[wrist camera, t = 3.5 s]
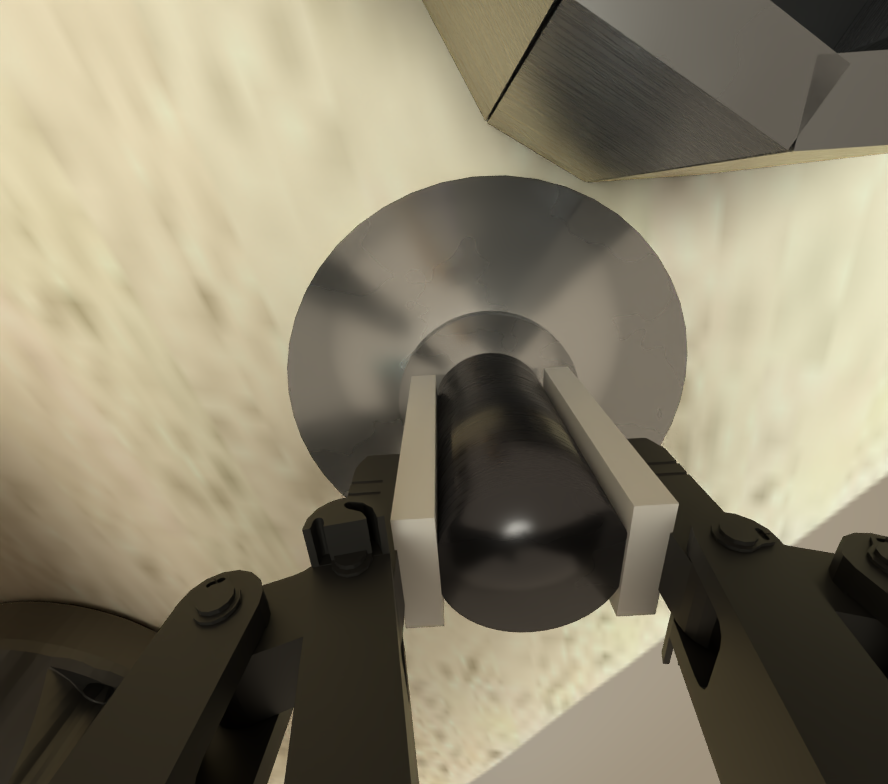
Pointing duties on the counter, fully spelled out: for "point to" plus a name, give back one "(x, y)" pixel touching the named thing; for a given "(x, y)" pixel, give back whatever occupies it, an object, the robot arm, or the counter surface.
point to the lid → (494, 378)
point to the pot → (675, 80)
